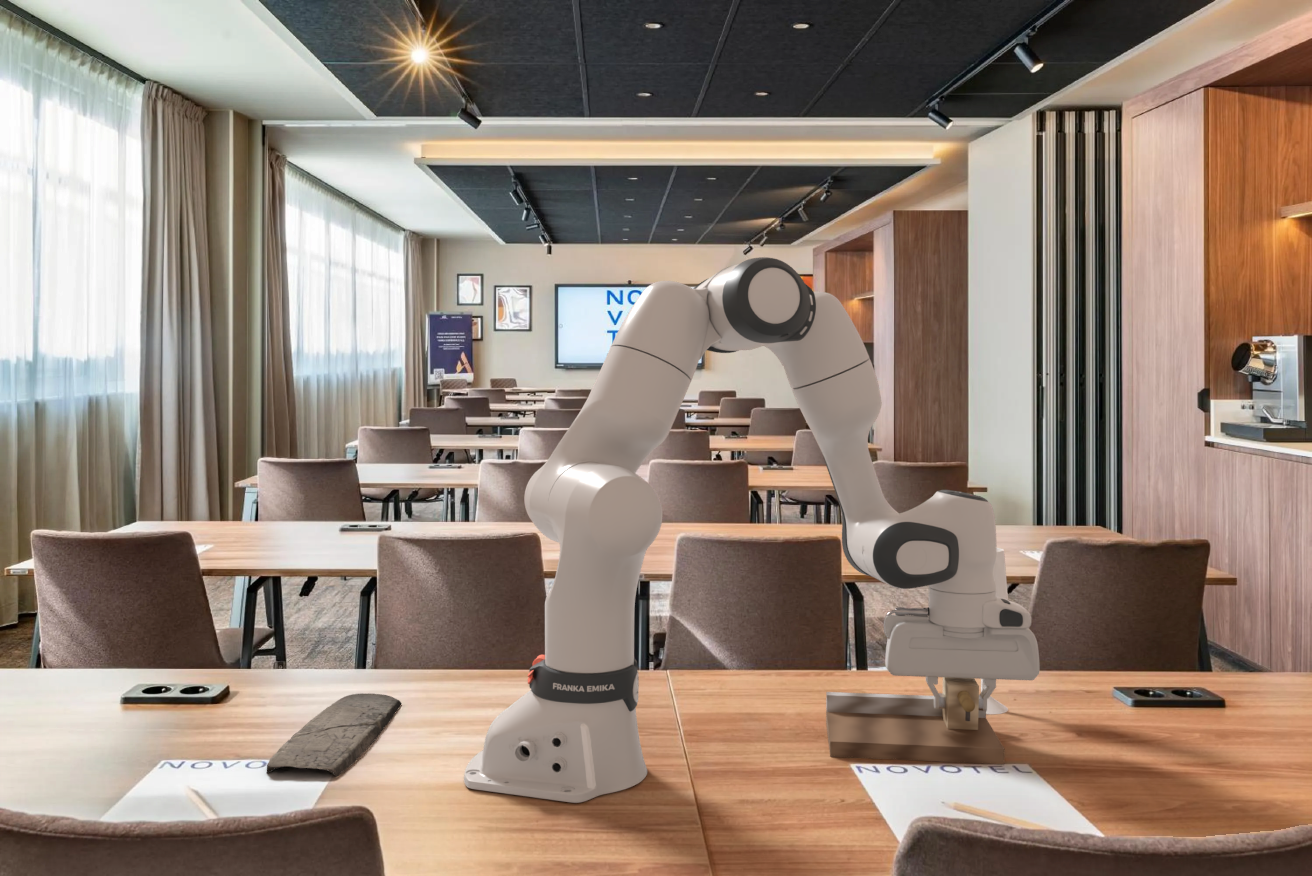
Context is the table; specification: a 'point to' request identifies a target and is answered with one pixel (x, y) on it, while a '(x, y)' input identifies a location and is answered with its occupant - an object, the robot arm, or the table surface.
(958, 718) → the marking gauge
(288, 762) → the stone slab
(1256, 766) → the table surface
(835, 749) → the walnut board
